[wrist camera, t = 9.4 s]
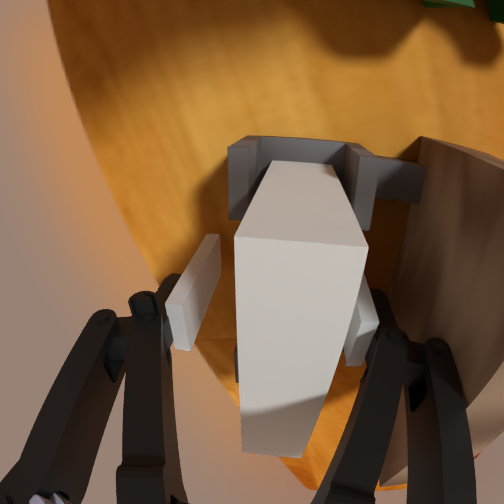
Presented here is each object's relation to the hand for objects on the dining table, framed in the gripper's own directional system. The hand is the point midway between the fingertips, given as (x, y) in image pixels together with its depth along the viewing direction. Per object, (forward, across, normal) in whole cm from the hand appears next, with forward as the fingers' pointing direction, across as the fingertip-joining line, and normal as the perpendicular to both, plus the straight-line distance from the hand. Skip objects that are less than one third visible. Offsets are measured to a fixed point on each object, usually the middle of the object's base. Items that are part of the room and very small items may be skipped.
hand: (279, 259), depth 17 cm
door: (0, +1, 0) cm, 1 cm away
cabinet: (0, +5, 0) cm, 5 cm away
